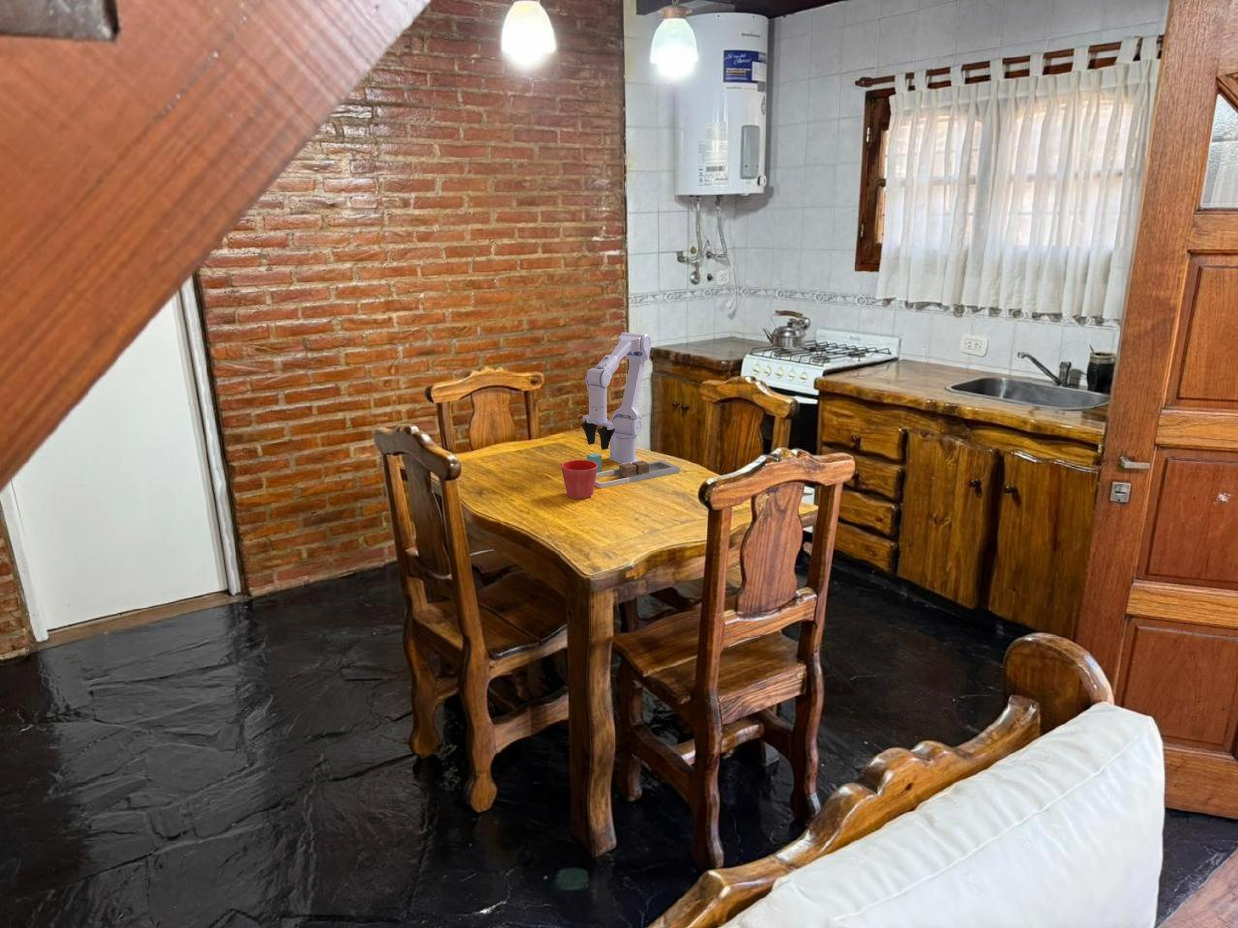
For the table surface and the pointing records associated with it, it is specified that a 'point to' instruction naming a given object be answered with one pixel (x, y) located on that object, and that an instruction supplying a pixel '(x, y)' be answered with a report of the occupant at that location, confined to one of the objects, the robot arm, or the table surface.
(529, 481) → the table surface
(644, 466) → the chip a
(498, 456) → the table surface
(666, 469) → the slot block
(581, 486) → the flower pot
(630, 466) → the brown boxy piece
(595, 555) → the table surface
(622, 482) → the tray
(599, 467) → the teal block
